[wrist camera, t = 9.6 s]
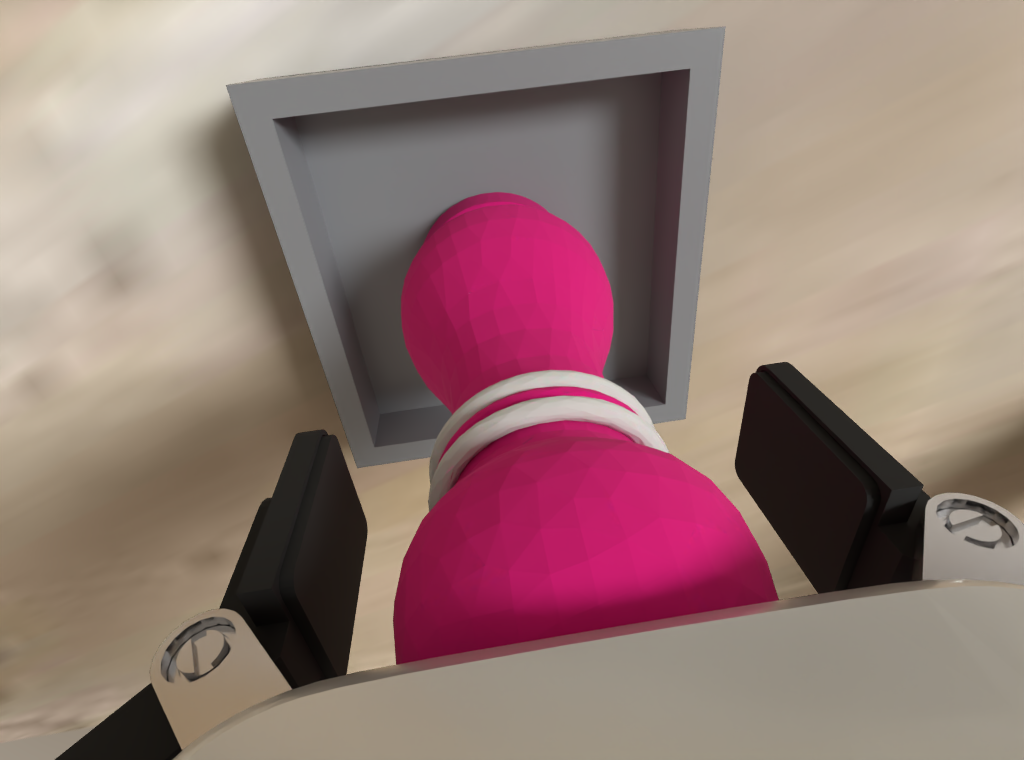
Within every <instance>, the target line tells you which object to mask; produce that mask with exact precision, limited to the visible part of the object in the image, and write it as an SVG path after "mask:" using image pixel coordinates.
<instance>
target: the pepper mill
mask: <svg viewBox="0 0 1024 760" xmlns="http://www.w3.org/2000/svg"><path fill="white" fill-rule="evenodd" d="M401 321H402V330H403V335H404V340H405V345H406V348H407V350H408V352H409V355H410V357H411V359H412V361H413V364H414V366H415V368H416V370H417V371H418V373H419V375H420V376H421V378H422V379H423V381H424V382H425V384H426V386H427V387H428V388H429V389H430V390H431V391H432V393H433V394H434V395H435V396H436V397H437V398H438V399H439V400H440V401H441V402H442V403H443V404H444V405H445V406H446V407H447V408H448V409H449V410H450V412H451V413H452V416H451V417H450V419H449V420H448V421H447V422H446V424H445V425H444V427H443V428H442V430H441V432H440V433H439V435H438V437H437V439H436V442H435V445H434V448H433V450H432V454H431V459H430V465H429V475H430V484H431V485H430V492H429V500H428V503H429V513H428V514H427V515H426V516H425V518H424V519H423V520H422V522H421V524H420V526H419V528H418V530H417V532H416V534H415V536H414V538H413V540H412V542H411V544H410V546H409V548H408V551H407V553H406V555H405V557H404V559H403V563H402V568H401V573H400V578H399V582H398V587H397V592H396V597H395V601H394V616H393V626H394V640H395V654H396V665H398V664H403V663H408V662H414V661H419V660H424V659H430V658H435V657H441V656H446V655H452V654H458V653H464V652H470V651H476V650H481V649H487V648H493V647H499V646H505V645H511V644H516V643H522V642H528V641H534V640H540V639H546V638H551V637H557V636H563V635H569V634H575V633H581V632H587V631H593V630H599V629H605V628H611V627H617V626H623V625H629V624H635V623H641V622H647V621H653V620H660V619H666V618H672V617H678V616H684V615H690V614H696V613H702V612H708V611H714V610H721V609H727V608H733V607H739V606H746V605H752V604H758V603H764V602H771V601H777V600H779V599H778V596H777V593H776V589H775V586H774V583H773V580H772V576H771V573H770V570H769V567H768V563H767V561H766V559H765V557H764V555H763V553H762V551H761V550H760V548H759V546H758V544H757V542H756V540H755V539H754V537H753V535H752V533H751V532H750V530H749V528H748V526H747V524H746V523H745V521H744V519H743V517H742V516H741V514H740V512H739V511H738V510H737V509H736V507H735V506H734V505H733V504H732V503H731V502H730V501H729V500H728V499H727V497H726V496H725V495H724V494H723V493H722V492H721V491H720V490H719V489H718V487H717V486H716V485H715V484H714V483H713V482H712V481H711V480H710V479H709V478H707V477H706V476H704V475H703V474H701V473H700V472H698V471H697V470H695V469H693V468H692V467H690V466H689V465H687V464H686V463H684V462H683V461H681V460H679V459H678V458H676V457H675V456H673V455H672V454H669V451H668V449H667V447H666V445H665V443H664V441H663V440H662V438H661V437H660V435H659V434H658V433H657V431H656V430H655V428H654V425H653V423H652V420H651V418H650V416H649V415H648V413H647V412H646V410H645V409H644V407H643V406H642V405H641V404H640V403H639V401H638V400H637V399H636V398H635V397H634V396H633V395H631V394H630V393H629V392H627V391H626V390H624V389H623V388H622V387H620V386H618V385H616V384H615V383H613V382H611V381H609V380H607V379H604V377H603V374H602V372H603V368H604V365H605V362H606V359H607V356H608V353H609V351H610V346H611V341H612V335H613V298H612V292H611V287H610V283H609V281H608V278H607V275H606V273H605V270H604V268H603V266H602V264H601V262H600V259H599V257H598V256H597V254H596V253H595V251H594V249H593V248H592V246H591V245H590V243H589V242H588V241H587V240H586V239H585V238H584V237H583V236H582V234H581V233H580V232H579V231H577V230H576V229H575V228H574V227H572V226H571V225H570V224H569V223H567V222H566V221H564V220H562V219H560V218H558V217H557V216H555V215H553V214H551V213H549V212H548V211H547V210H546V209H545V208H543V207H542V206H541V205H539V204H538V203H536V202H534V201H532V200H530V199H528V198H526V197H523V196H520V195H516V194H512V193H504V192H493V193H484V194H479V195H475V196H472V197H468V198H466V199H464V200H462V201H460V202H459V203H457V204H455V205H453V206H452V207H450V208H449V209H448V210H447V211H446V212H444V213H443V214H442V215H441V216H440V217H439V218H438V219H437V221H436V222H435V223H434V225H433V226H432V227H431V229H430V231H429V233H428V235H427V237H426V239H425V241H424V243H423V245H422V246H421V248H420V249H419V251H418V253H417V254H416V256H415V257H414V259H413V261H412V263H411V265H410V267H409V270H408V272H407V275H406V277H405V280H404V285H403V290H402V295H401Z"/></svg>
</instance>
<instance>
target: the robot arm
mask: <svg viewBox="0 0 1024 760" xmlns="http://www.w3.org/2000/svg"><path fill="white" fill-rule="evenodd" d="M735 469H736V473H737V475H738V477H739V479H740V480H741V482H742V483H743V485H744V486H745V488H746V489H747V491H748V492H749V494H750V495H751V496H752V498H753V499H754V501H755V502H756V504H757V505H758V507H759V508H760V510H761V511H762V512H763V514H764V515H765V517H766V518H767V520H768V521H769V523H770V524H771V525H772V527H773V528H774V530H775V531H776V533H777V534H778V536H779V537H780V539H781V540H782V541H783V543H784V544H785V546H786V547H787V549H788V550H789V552H790V553H791V555H792V556H793V557H794V559H795V560H796V562H797V563H798V565H799V566H800V568H801V569H802V571H803V572H804V573H805V575H806V576H807V578H808V579H809V581H810V582H811V584H812V585H813V587H814V588H815V589H816V591H817V592H818V594H814V595H808V596H802V597H796V598H789V599H783V600H777V601H771V602H764V603H758V604H752V605H746V606H739V607H733V608H727V609H721V610H714V611H708V612H702V613H696V614H690V615H684V616H678V617H672V618H666V619H660V620H653V621H647V622H641V623H635V624H629V625H623V626H617V627H611V628H605V629H599V630H593V631H587V632H581V633H575V634H569V635H563V636H557V637H551V638H546V639H540V640H534V641H528V642H522V643H516V644H511V645H505V646H499V647H493V648H487V649H481V650H476V651H470V652H464V653H458V654H452V655H446V656H441V657H435V658H430V659H424V660H419V661H414V662H408V663H403V664H398V665H392V666H387V667H382V668H377V669H371V670H366V671H361V672H356V673H352V674H347V675H346V673H347V667H348V661H349V654H350V647H351V641H352V634H353V627H354V621H355V614H356V607H357V601H358V594H359V587H360V581H361V574H362V567H363V561H364V554H365V547H366V541H367V522H366V518H365V515H364V512H363V509H362V507H361V504H360V501H359V498H358V495H357V493H356V490H355V487H354V484H353V481H352V479H351V476H350V473H349V470H348V467H347V465H346V462H345V459H344V456H343V453H342V450H341V448H340V445H339V442H338V439H337V437H336V436H335V435H328V434H327V432H326V431H325V430H316V431H309V432H302V433H298V434H296V436H295V438H294V440H293V443H292V446H291V448H290V451H289V454H288V456H287V459H286V462H285V464H284V467H283V470H282V472H281V475H280V478H279V480H278V483H277V486H276V488H275V491H274V494H273V496H272V498H266V499H265V500H264V501H262V503H261V505H260V507H259V509H258V512H257V514H256V517H255V519H254V522H253V524H252V527H251V529H250V532H249V534H248V537H247V540H246V542H245V545H244V547H243V550H242V552H241V555H240V557H239V560H238V562H237V565H236V568H235V570H234V573H233V575H232V578H231V580H230V583H229V585H228V588H227V590H226V593H225V595H224V598H223V601H222V603H221V606H220V608H219V609H213V610H209V611H206V612H203V613H200V614H197V615H196V616H194V617H192V618H190V619H189V620H187V621H185V622H184V623H182V624H181V625H180V626H179V627H177V628H176V629H175V630H174V631H173V632H171V633H170V634H169V636H168V637H167V638H166V639H165V640H164V641H163V643H162V644H161V645H160V646H159V648H158V650H157V652H156V654H155V656H154V657H153V659H152V664H151V668H150V678H151V683H150V684H149V685H148V686H146V687H145V688H144V689H143V690H141V691H140V692H139V693H138V694H136V695H135V696H134V697H133V698H131V699H130V700H129V701H128V702H126V703H125V704H124V705H123V706H121V707H120V708H119V709H118V710H116V711H115V712H114V713H113V714H111V715H110V716H109V717H108V718H106V719H105V720H104V721H103V722H101V723H100V724H99V725H98V726H96V727H95V728H94V729H93V730H91V731H90V732H89V733H88V734H86V735H85V736H84V737H83V738H81V739H80V740H79V741H78V742H76V743H75V744H74V745H73V746H71V747H70V748H69V749H68V750H66V751H65V752H64V753H63V754H61V755H60V756H59V757H58V758H56V759H55V760H1024V524H1023V523H1022V522H1021V521H1020V520H1019V519H1018V518H1017V517H1016V516H1014V515H1013V514H1012V513H1010V512H1009V511H1007V510H1006V509H1004V508H1002V507H1001V506H999V505H997V504H995V503H993V502H991V501H988V500H985V499H982V498H980V497H977V496H973V495H968V494H962V493H943V494H939V495H935V496H934V497H932V498H930V497H929V496H928V495H927V494H926V493H925V492H924V491H923V490H922V488H923V486H924V485H923V484H922V483H921V482H920V481H918V480H917V479H916V478H915V477H914V476H913V475H912V474H911V473H910V472H909V471H908V470H906V469H905V468H904V467H903V466H902V465H901V464H900V463H899V462H898V461H897V460H895V459H894V458H893V457H892V456H891V455H890V454H889V453H888V452H887V451H886V450H884V449H883V448H882V447H881V446H880V445H879V444H878V443H877V442H876V441H875V440H874V439H872V438H871V437H870V436H869V435H868V434H867V433H866V432H865V431H864V430H863V429H861V428H860V427H859V426H858V425H857V424H856V423H855V422H854V421H853V420H852V419H850V418H849V417H848V416H847V415H846V414H845V413H844V412H843V411H842V410H841V409H840V408H838V407H837V406H836V405H835V404H834V403H833V402H832V401H831V400H830V399H829V398H827V397H826V396H825V395H824V394H823V393H822V392H821V391H820V390H819V389H818V388H816V387H815V386H814V385H813V384H812V383H811V382H810V381H809V380H808V379H807V378H805V377H804V376H803V375H802V374H801V373H800V372H799V371H798V370H797V369H796V368H795V367H793V366H792V365H791V364H790V363H788V362H781V363H775V364H768V365H762V366H760V367H759V368H758V369H757V371H756V373H753V374H751V376H750V379H749V384H748V390H747V396H746V401H745V407H744V413H743V419H742V424H741V430H740V436H739V441H738V447H737V453H736V459H735Z"/></svg>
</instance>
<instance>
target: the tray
mask: <svg viewBox="0 0 1024 760" xmlns="http://www.w3.org/2000/svg"><path fill="white" fill-rule="evenodd" d="M724 36H725V27H712V28H697V29H682V30H673V31H664V32H656V33H647V34H639V35H630V36H622V37H613V38H605V39H596V40H588V41H579V42H571V43H562V44H554V45H545V46H536V47H528V48H519V49H511V50H502V51H494V52H485V53H477V54H468V55H460V56H451V57H443V58H434V59H426V60H417V61H409V62H400V63H392V64H383V65H374V66H366V67H357V68H349V69H340V70H332V71H323V72H315V73H306V74H298V75H289V76H281V77H272V78H264V79H257V80H252V81H246V82H241V83H236V84H230V85H226V87H227V90H228V93H229V96H230V99H231V102H232V105H233V107H234V110H235V113H236V116H237V119H238V122H239V125H240V128H241V131H242V134H243V137H244V140H245V142H246V145H247V148H248V151H249V154H250V157H251V160H252V163H253V166H254V169H255V172H256V174H257V177H258V180H259V183H260V186H261V189H262V192H263V195H264V198H265V201H266V204H267V207H268V209H269V212H270V215H271V218H272V221H273V224H274V227H275V230H276V233H277V236H278V239H279V241H280V244H281V247H282V250H283V253H284V256H285V259H286V262H287V265H288V268H289V271H290V274H291V276H292V279H293V282H294V285H295V288H296V291H297V294H298V297H299V300H300V303H301V306H302V308H303V311H304V314H305V317H306V320H307V323H308V326H309V329H310V332H311V335H312V338H313V341H314V343H315V346H316V349H317V352H318V355H319V358H320V361H321V364H322V367H323V370H324V373H325V375H326V378H327V381H328V384H329V387H330V390H331V393H332V396H333V399H334V402H335V405H336V408H337V410H338V413H339V416H340V419H341V422H342V425H343V428H344V431H345V434H346V437H347V440H348V442H349V445H350V448H351V451H352V454H353V457H354V460H355V463H356V466H357V468H361V467H368V466H375V465H381V464H388V463H395V462H401V461H408V460H415V459H421V458H428V457H431V454H432V450H433V448H434V445H435V442H436V439H437V437H438V435H439V433H440V432H441V430H442V428H443V427H444V425H445V424H446V422H447V421H448V420H449V419H450V417H451V416H452V413H451V412H450V410H449V409H448V408H447V407H446V406H445V405H444V404H443V403H442V402H441V401H440V400H439V399H438V398H437V397H436V396H435V395H434V394H433V393H432V391H431V390H430V389H429V388H428V387H427V386H426V384H425V382H424V381H423V379H422V378H421V376H420V375H419V373H418V371H417V370H416V368H415V366H414V364H413V361H412V359H411V357H410V355H409V352H408V350H407V348H406V345H405V340H404V335H403V330H402V321H401V295H402V290H403V285H404V280H405V277H406V275H407V272H408V270H409V267H410V265H411V263H412V261H413V259H414V257H415V256H416V254H417V253H418V251H419V249H420V248H421V246H422V245H423V243H424V241H425V239H426V237H427V235H428V233H429V231H430V229H431V227H432V226H433V225H434V223H435V222H436V221H437V219H438V218H439V217H440V216H441V215H442V214H443V213H444V212H446V211H447V210H448V209H449V208H450V207H452V206H453V205H455V204H457V203H459V202H460V201H462V200H464V199H466V198H468V197H472V196H475V195H479V194H484V193H493V192H504V193H512V194H516V195H520V196H523V197H526V198H528V199H530V200H532V201H534V202H536V203H538V204H539V205H541V206H542V207H543V208H545V209H546V210H547V211H548V212H549V213H551V214H553V215H555V216H557V217H558V218H560V219H562V220H564V221H566V222H567V223H569V224H570V225H571V226H572V227H574V228H575V229H576V230H577V231H579V232H580V233H581V234H582V236H583V237H584V238H585V239H586V240H587V241H588V242H589V243H590V245H591V246H592V248H593V249H594V251H595V253H596V254H597V256H598V257H599V259H600V262H601V264H602V266H603V268H604V270H605V273H606V275H607V278H608V281H609V283H610V287H611V292H612V298H613V335H612V341H611V346H610V351H609V353H608V356H607V359H606V362H605V365H604V368H603V372H602V374H603V377H604V379H607V380H609V381H611V382H613V383H615V384H616V385H618V386H620V387H622V388H623V389H624V390H626V391H627V392H629V393H630V394H631V395H633V396H634V397H635V398H636V399H637V400H638V401H639V403H640V404H641V405H642V406H643V407H644V409H645V410H646V412H647V413H648V415H649V416H650V418H651V420H652V423H653V424H655V423H662V422H669V421H675V420H682V419H686V409H687V399H688V390H689V380H690V370H691V360H692V350H693V340H694V331H695V321H696V311H697V301H698V291H699V281H700V272H701V262H702V252H703V242H704V232H705V222H706V213H707V203H708V193H709V183H710V173H711V163H712V154H713V144H714V134H715V124H716V114H717V104H718V95H719V85H720V75H721V65H722V55H723V45H724Z"/></svg>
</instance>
